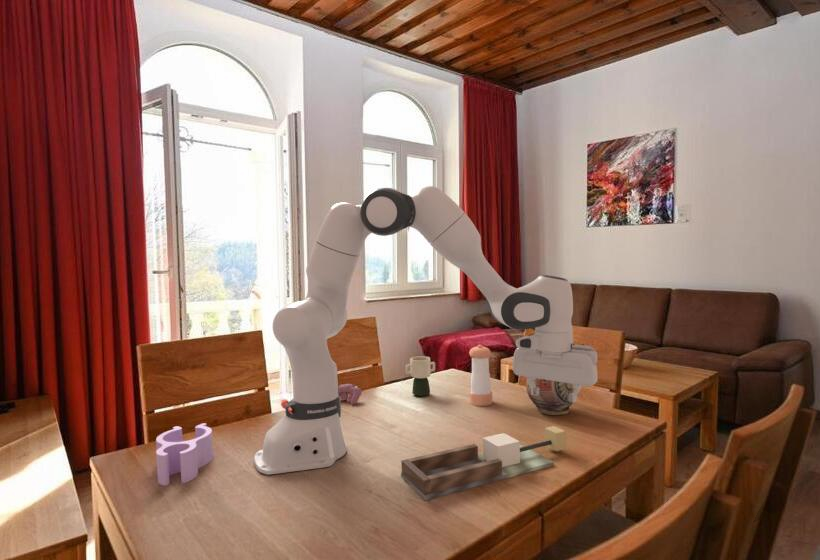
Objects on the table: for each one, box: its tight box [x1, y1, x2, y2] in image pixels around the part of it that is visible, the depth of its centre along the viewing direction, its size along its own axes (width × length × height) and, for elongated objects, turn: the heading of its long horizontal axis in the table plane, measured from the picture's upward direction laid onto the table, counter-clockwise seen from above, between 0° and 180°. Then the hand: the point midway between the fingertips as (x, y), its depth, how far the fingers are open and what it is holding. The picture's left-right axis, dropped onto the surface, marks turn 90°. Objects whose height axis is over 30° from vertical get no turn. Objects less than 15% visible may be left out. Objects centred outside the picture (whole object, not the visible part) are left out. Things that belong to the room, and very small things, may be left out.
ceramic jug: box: [525, 328, 579, 416], centre depth 148 cm, size 17×15×30 cm
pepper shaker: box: [468, 344, 493, 407], centre depth 160 cm, size 7×7×19 cm
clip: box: [155, 422, 214, 486], centre depth 118 cm, size 20×12×7 cm, turn 14°
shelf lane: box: [400, 443, 555, 501], centre depth 110 cm, size 33×12×4 cm, turn 115°
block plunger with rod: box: [482, 425, 567, 467], centre depth 116 cm, size 20×6×5 cm, turn 115°
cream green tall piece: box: [405, 355, 436, 397], centre depth 171 cm, size 11×7×13 cm, turn 107°
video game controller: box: [338, 383, 362, 406], centre depth 166 cm, size 10×5×7 cm, turn 59°
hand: (553, 398), depth 119 cm, fingers open, 8 cm apart
